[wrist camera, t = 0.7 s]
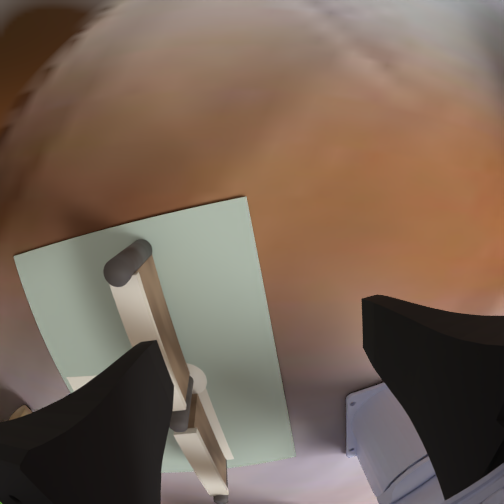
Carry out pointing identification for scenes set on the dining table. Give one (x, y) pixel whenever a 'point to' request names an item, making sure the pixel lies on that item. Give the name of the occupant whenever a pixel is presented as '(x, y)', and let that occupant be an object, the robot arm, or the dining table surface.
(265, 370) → the card
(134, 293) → the hinged fence section
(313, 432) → the dining table surface
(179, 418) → the fixed fence section
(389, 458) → the robot arm
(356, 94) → the dining table surface
